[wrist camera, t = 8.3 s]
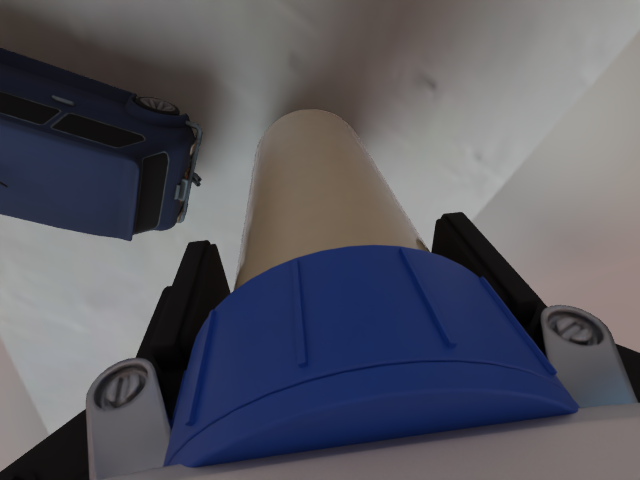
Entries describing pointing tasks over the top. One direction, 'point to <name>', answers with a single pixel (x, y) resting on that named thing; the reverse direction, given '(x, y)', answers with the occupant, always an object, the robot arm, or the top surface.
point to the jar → (316, 195)
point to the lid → (356, 359)
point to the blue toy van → (90, 153)
